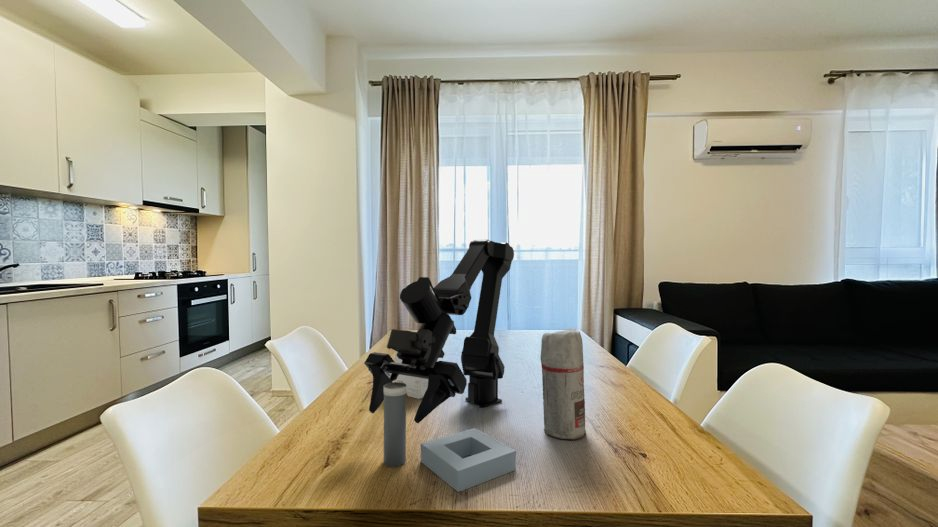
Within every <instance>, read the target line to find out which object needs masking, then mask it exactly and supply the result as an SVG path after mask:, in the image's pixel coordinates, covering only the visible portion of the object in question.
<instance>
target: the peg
mask: <svg viewBox="0 0 938 527" xmlns="http://www.w3.org/2000/svg"><path fill="white" fill-rule="evenodd" d="M392 382H393V383H388V384H385V385H384V401H383V465H384V466H386V467H390V468H398V467H400V466H403V465H404V464H406V461H407V458H406V457H407V396H406V384H405V383H401V382H395V381H392Z"/></svg>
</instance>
